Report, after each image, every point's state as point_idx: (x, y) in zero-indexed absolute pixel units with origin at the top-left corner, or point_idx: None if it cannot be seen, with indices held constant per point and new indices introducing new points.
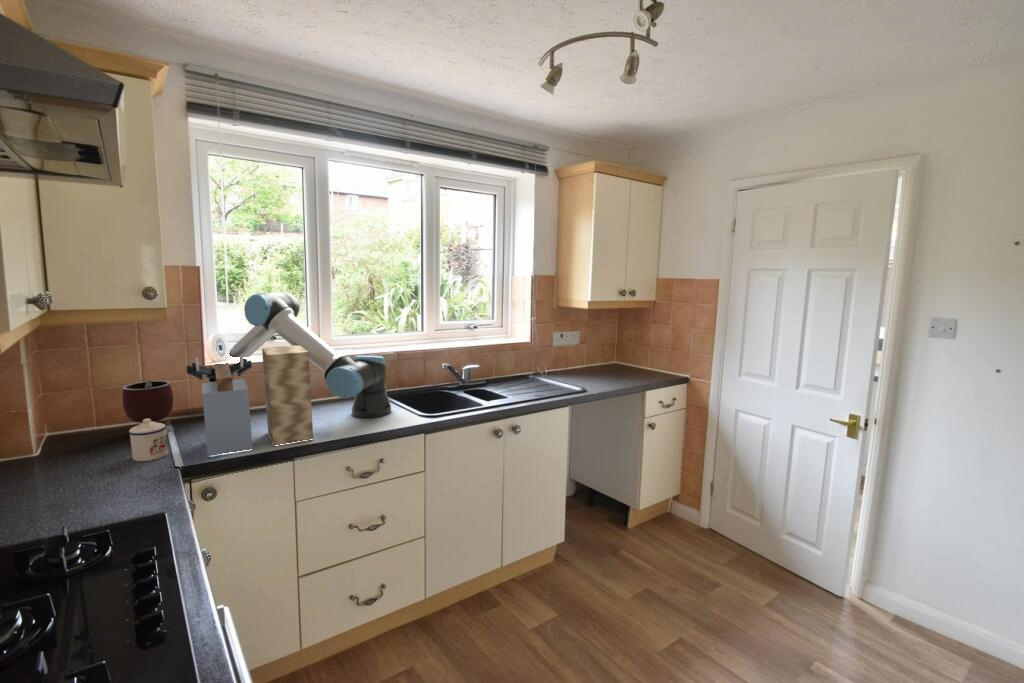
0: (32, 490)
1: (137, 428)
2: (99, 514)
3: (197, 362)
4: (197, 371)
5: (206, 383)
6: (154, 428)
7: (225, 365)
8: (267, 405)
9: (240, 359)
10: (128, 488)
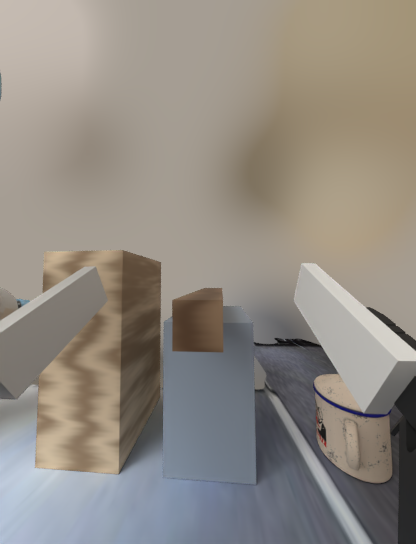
0: None
1: None
2: (295, 353)
3: (299, 290)
4: (405, 444)
5: (242, 320)
6: (322, 376)
7: (192, 296)
8: (137, 369)
9: (60, 310)
10: (300, 372)
